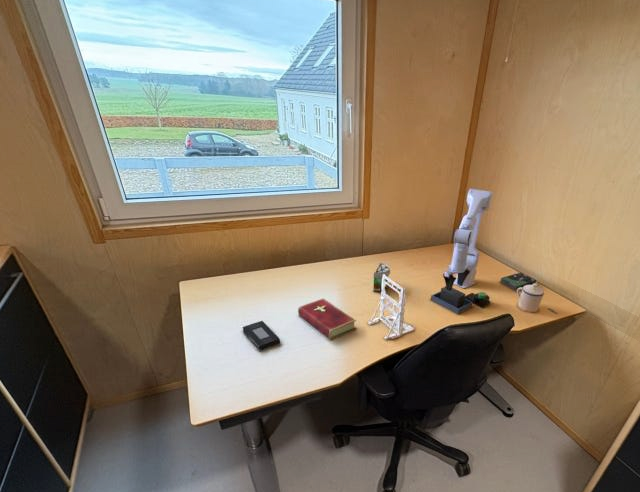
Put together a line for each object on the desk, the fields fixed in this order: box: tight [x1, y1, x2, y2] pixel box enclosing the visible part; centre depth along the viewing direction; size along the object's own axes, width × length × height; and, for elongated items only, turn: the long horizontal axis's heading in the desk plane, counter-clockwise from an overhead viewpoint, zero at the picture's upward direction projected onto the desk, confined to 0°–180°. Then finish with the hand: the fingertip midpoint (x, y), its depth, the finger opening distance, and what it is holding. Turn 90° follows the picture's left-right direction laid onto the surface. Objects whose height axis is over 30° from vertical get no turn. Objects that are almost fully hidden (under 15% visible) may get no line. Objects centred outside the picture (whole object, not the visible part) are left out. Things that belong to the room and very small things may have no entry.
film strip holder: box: [367, 274, 415, 341], centre depth 135 cm, size 14×14×20 cm
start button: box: [478, 291, 488, 299], centre depth 158 cm, size 4×4×2 cm
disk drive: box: [499, 272, 537, 291], centre depth 179 cm, size 10×3×15 cm
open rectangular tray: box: [430, 290, 474, 315], centre depth 158 cm, size 10×15×2 cm
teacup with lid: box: [516, 283, 545, 313], centre depth 157 cm, size 12×9×12 cm
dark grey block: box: [440, 286, 467, 308], centre depth 156 cm, size 5×10×6 cm, turn 43°
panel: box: [465, 292, 492, 309], centre depth 160 cm, size 6×10×4 cm, turn 43°
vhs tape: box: [242, 320, 281, 352], centre depth 128 cm, size 8×14×2 cm, turn 40°
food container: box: [373, 262, 391, 293], centre depth 164 cm, size 12×6×10 cm, turn 168°
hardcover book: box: [297, 298, 357, 341], centre depth 139 cm, size 12×21×4 cm, turn 43°
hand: (454, 287), depth 154 cm, fingers open, 7 cm apart
